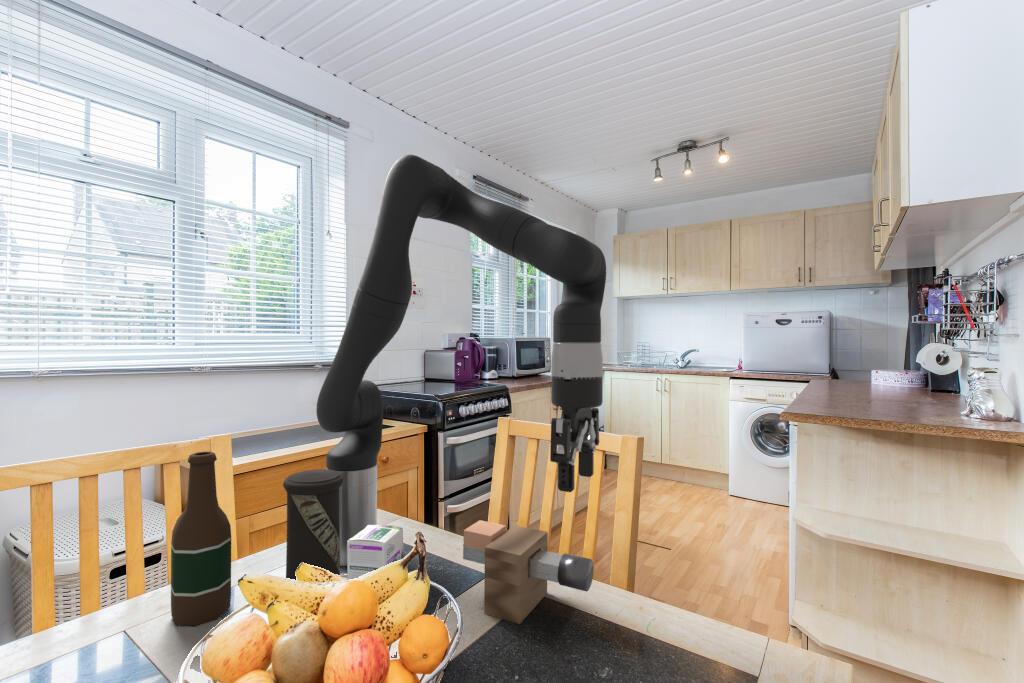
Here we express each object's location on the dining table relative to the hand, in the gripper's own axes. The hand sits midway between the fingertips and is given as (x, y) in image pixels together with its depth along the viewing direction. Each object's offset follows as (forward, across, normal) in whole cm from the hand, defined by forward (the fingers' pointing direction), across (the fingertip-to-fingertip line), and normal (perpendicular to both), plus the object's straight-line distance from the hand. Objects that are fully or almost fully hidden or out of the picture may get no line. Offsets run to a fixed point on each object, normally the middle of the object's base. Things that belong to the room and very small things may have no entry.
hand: (576, 483), depth 72 cm
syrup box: (+20, +17, -23) cm, 35 cm away
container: (+20, +14, -39) cm, 46 cm away
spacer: (+12, 0, -16) cm, 20 cm away
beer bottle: (+20, +25, -50) cm, 60 cm away
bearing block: (+20, 0, -10) cm, 22 cm away
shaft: (+15, 0, -8) cm, 17 cm away
